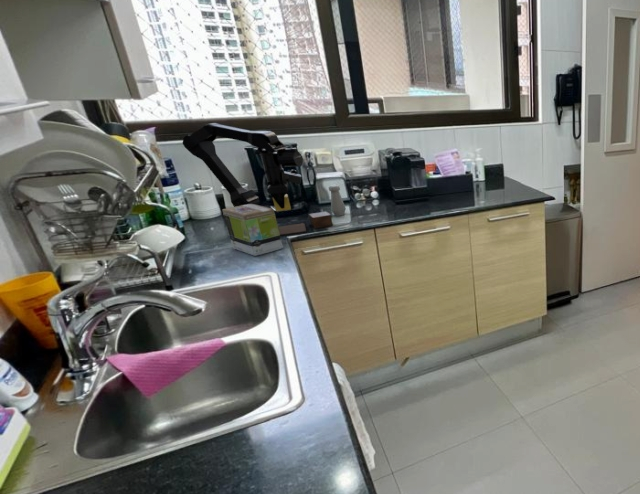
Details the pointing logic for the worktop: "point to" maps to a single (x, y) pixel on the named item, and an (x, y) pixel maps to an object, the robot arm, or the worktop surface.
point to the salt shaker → (336, 201)
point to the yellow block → (286, 204)
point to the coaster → (292, 229)
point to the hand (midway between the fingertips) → (282, 206)
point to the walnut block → (320, 219)
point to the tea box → (253, 229)
